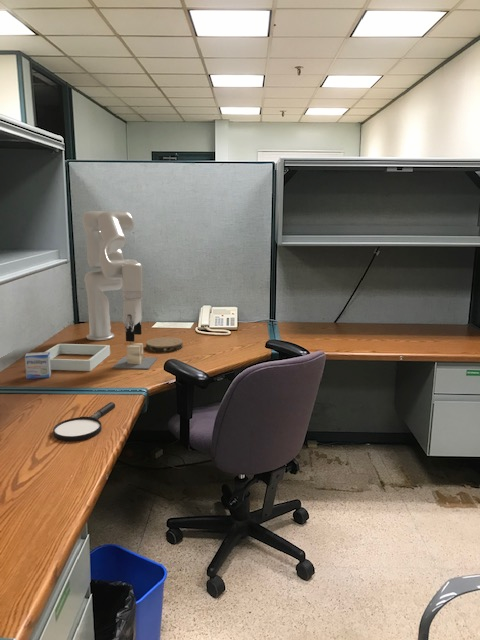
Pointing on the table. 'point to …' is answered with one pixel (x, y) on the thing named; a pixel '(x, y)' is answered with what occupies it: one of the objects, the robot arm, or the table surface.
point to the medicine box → (37, 365)
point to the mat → (145, 364)
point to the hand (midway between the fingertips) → (133, 337)
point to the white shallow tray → (78, 365)
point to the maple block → (135, 353)
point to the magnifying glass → (81, 426)
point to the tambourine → (164, 344)
